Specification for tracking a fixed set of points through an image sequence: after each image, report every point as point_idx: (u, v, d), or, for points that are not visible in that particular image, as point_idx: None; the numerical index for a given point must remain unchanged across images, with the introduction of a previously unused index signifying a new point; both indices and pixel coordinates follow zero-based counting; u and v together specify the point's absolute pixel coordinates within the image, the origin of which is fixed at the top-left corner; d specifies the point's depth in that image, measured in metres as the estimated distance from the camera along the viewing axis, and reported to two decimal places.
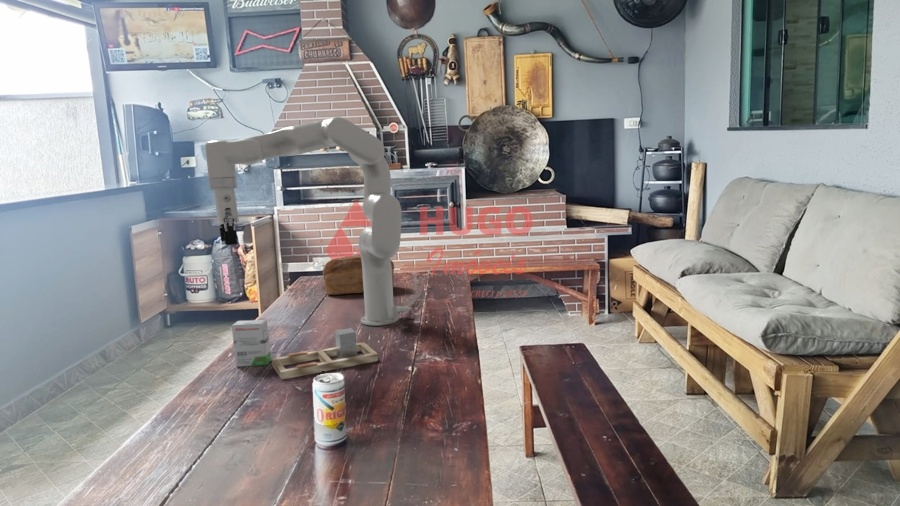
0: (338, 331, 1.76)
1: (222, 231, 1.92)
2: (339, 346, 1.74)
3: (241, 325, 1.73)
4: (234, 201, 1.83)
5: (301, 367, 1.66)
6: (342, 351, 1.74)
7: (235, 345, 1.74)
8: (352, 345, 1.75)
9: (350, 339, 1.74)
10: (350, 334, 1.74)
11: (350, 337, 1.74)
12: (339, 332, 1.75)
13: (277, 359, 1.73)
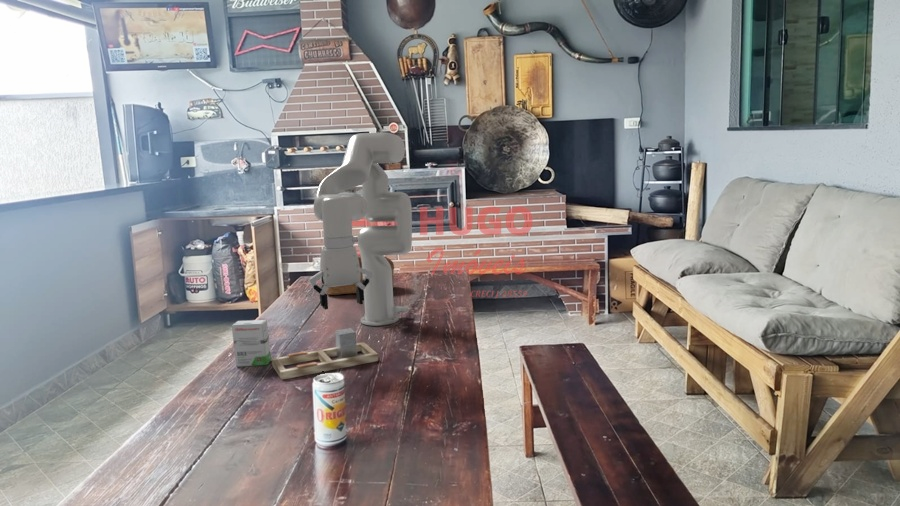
0: (338, 331, 1.76)
1: None
2: (339, 346, 1.74)
3: (241, 325, 1.73)
4: None
5: (301, 367, 1.66)
6: (342, 351, 1.74)
7: (235, 345, 1.74)
8: (352, 345, 1.75)
9: (350, 339, 1.74)
10: (350, 334, 1.74)
11: (350, 337, 1.74)
12: (339, 332, 1.75)
13: (277, 359, 1.73)
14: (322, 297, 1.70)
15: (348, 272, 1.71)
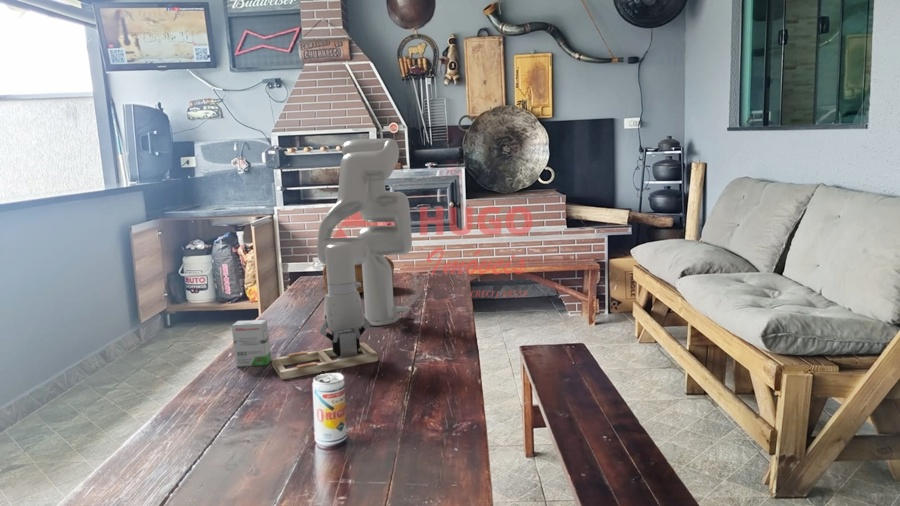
0: None
1: None
2: None
3: (241, 325, 1.73)
4: None
5: (301, 367, 1.66)
6: (342, 351, 1.74)
7: (235, 345, 1.74)
8: (352, 345, 1.75)
9: (350, 339, 1.74)
10: (350, 334, 1.74)
11: (350, 336, 1.74)
12: (339, 332, 1.75)
13: (277, 359, 1.73)
14: (334, 344, 1.74)
15: (351, 317, 1.74)
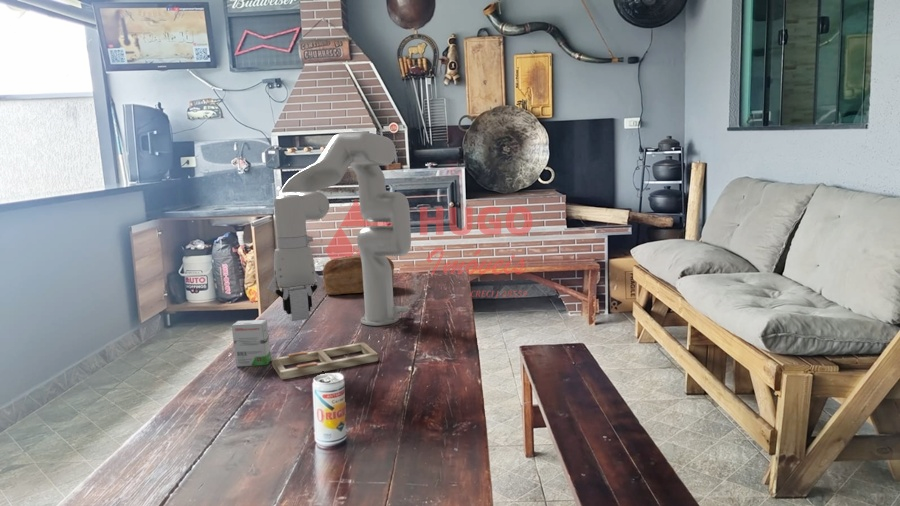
0: (289, 288, 1.68)
1: (289, 303, 1.67)
2: None
3: (241, 325, 1.73)
4: None
5: (301, 367, 1.66)
6: (292, 308, 1.66)
7: (235, 345, 1.74)
8: (304, 303, 1.67)
9: (301, 296, 1.67)
10: (301, 290, 1.66)
11: (301, 293, 1.67)
12: (290, 289, 1.67)
13: (277, 359, 1.73)
14: (285, 302, 1.67)
15: (302, 273, 1.66)
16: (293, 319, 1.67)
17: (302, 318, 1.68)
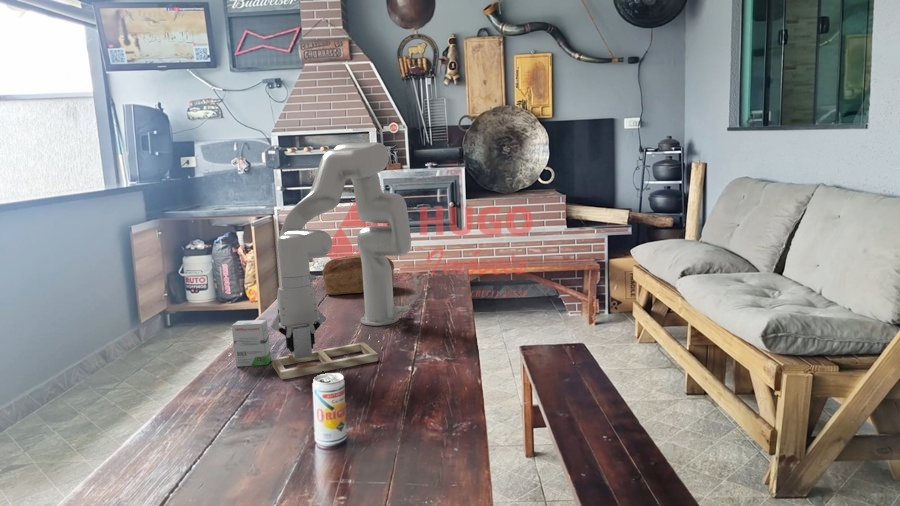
0: (292, 326, 1.70)
1: (292, 341, 1.69)
2: None
3: (241, 325, 1.73)
4: None
5: (301, 367, 1.66)
6: (295, 346, 1.68)
7: (235, 345, 1.74)
8: (307, 341, 1.69)
9: (304, 334, 1.68)
10: (304, 329, 1.68)
11: (304, 331, 1.68)
12: (293, 327, 1.69)
13: (277, 359, 1.73)
14: (288, 340, 1.68)
15: (305, 311, 1.68)
16: (296, 357, 1.68)
17: (305, 356, 1.69)
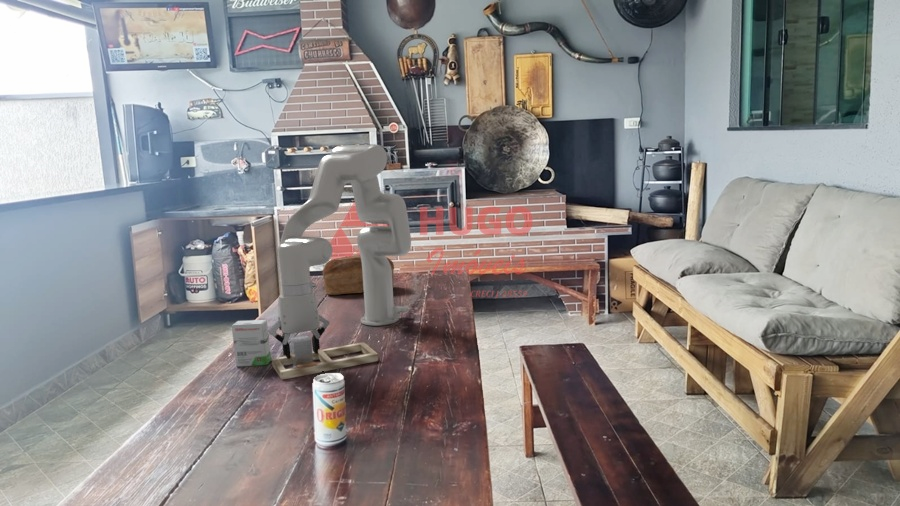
0: (293, 339, 1.71)
1: None
2: (294, 354, 1.69)
3: (241, 325, 1.73)
4: None
5: (301, 367, 1.66)
6: (297, 359, 1.69)
7: (235, 345, 1.74)
8: (308, 353, 1.70)
9: (306, 347, 1.69)
10: (305, 342, 1.69)
11: (305, 344, 1.69)
12: (295, 340, 1.70)
13: (277, 359, 1.73)
14: (284, 346, 1.68)
15: (306, 319, 1.68)
16: None
17: None
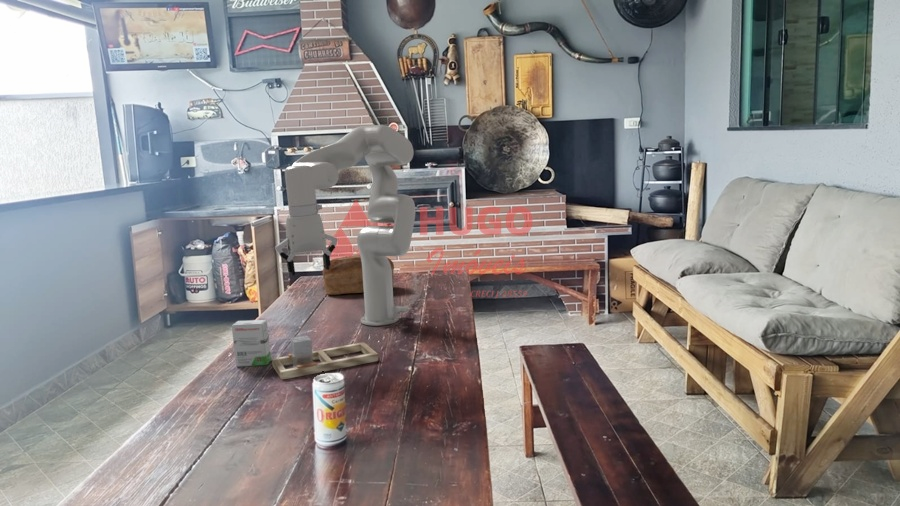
0: (293, 339, 1.71)
1: None
2: (294, 354, 1.69)
3: (241, 325, 1.73)
4: None
5: (301, 367, 1.66)
6: (297, 359, 1.69)
7: (235, 345, 1.74)
8: (308, 353, 1.70)
9: (306, 347, 1.69)
10: (305, 342, 1.69)
11: (305, 344, 1.69)
12: (295, 340, 1.70)
13: (277, 359, 1.73)
14: (289, 264, 1.76)
15: (313, 239, 1.76)
16: None
17: None
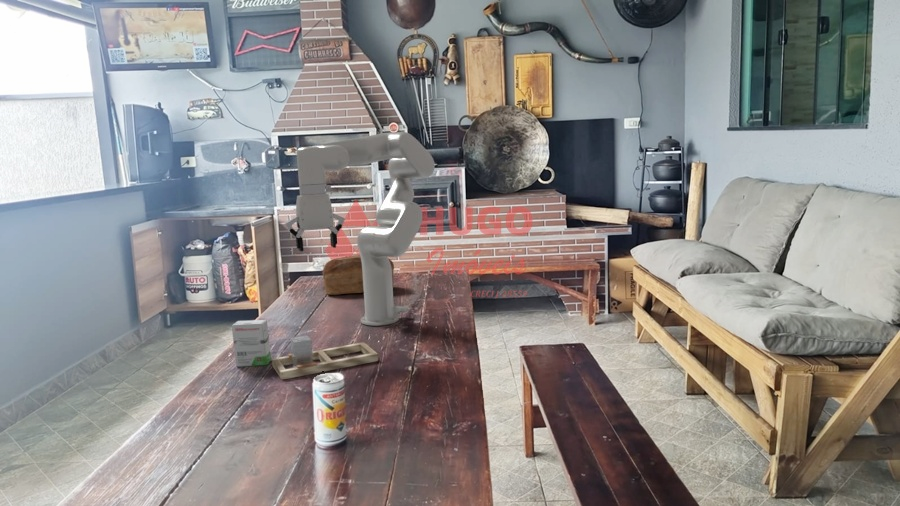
0: (293, 339, 1.71)
1: None
2: (294, 354, 1.69)
3: (241, 325, 1.73)
4: None
5: (301, 367, 1.66)
6: (297, 359, 1.69)
7: (235, 345, 1.74)
8: (308, 353, 1.70)
9: (306, 347, 1.69)
10: (305, 342, 1.69)
11: (305, 344, 1.69)
12: (295, 340, 1.70)
13: (277, 359, 1.73)
14: (298, 240, 1.85)
15: (322, 217, 1.85)
16: None
17: None
